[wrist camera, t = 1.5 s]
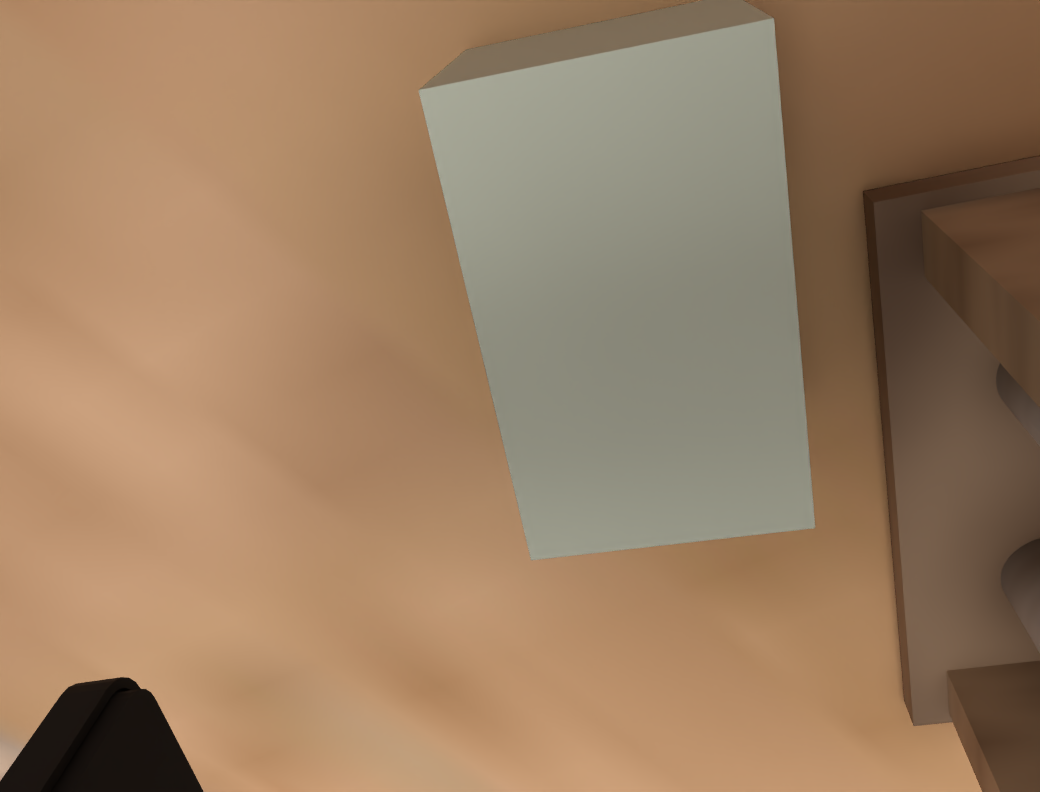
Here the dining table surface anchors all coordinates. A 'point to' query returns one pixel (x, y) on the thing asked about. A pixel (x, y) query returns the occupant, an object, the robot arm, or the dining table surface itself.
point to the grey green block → (632, 274)
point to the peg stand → (964, 452)
